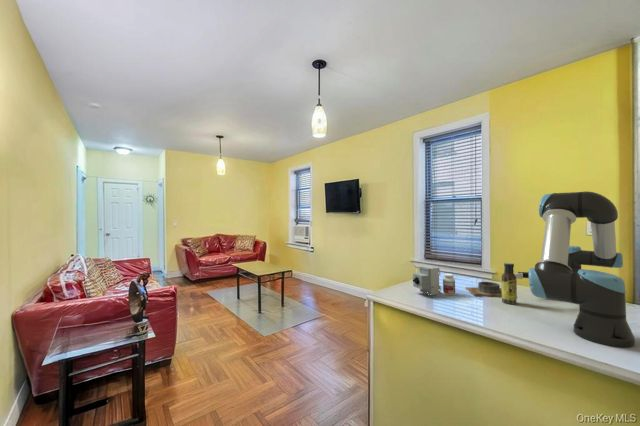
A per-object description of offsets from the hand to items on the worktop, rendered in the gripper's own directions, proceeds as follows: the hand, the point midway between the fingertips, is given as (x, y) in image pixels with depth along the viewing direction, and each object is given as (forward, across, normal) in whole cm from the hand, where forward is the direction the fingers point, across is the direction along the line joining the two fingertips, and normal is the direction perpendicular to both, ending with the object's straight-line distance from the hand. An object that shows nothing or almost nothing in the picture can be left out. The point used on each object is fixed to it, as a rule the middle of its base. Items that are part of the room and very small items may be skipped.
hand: (524, 279), depth 137 cm
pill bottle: (+28, +21, -11) cm, 37 cm away
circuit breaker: (+40, +25, -11) cm, 49 cm away
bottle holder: (+6, +16, -11) cm, 21 cm away
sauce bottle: (+10, 0, -11) cm, 15 cm away
